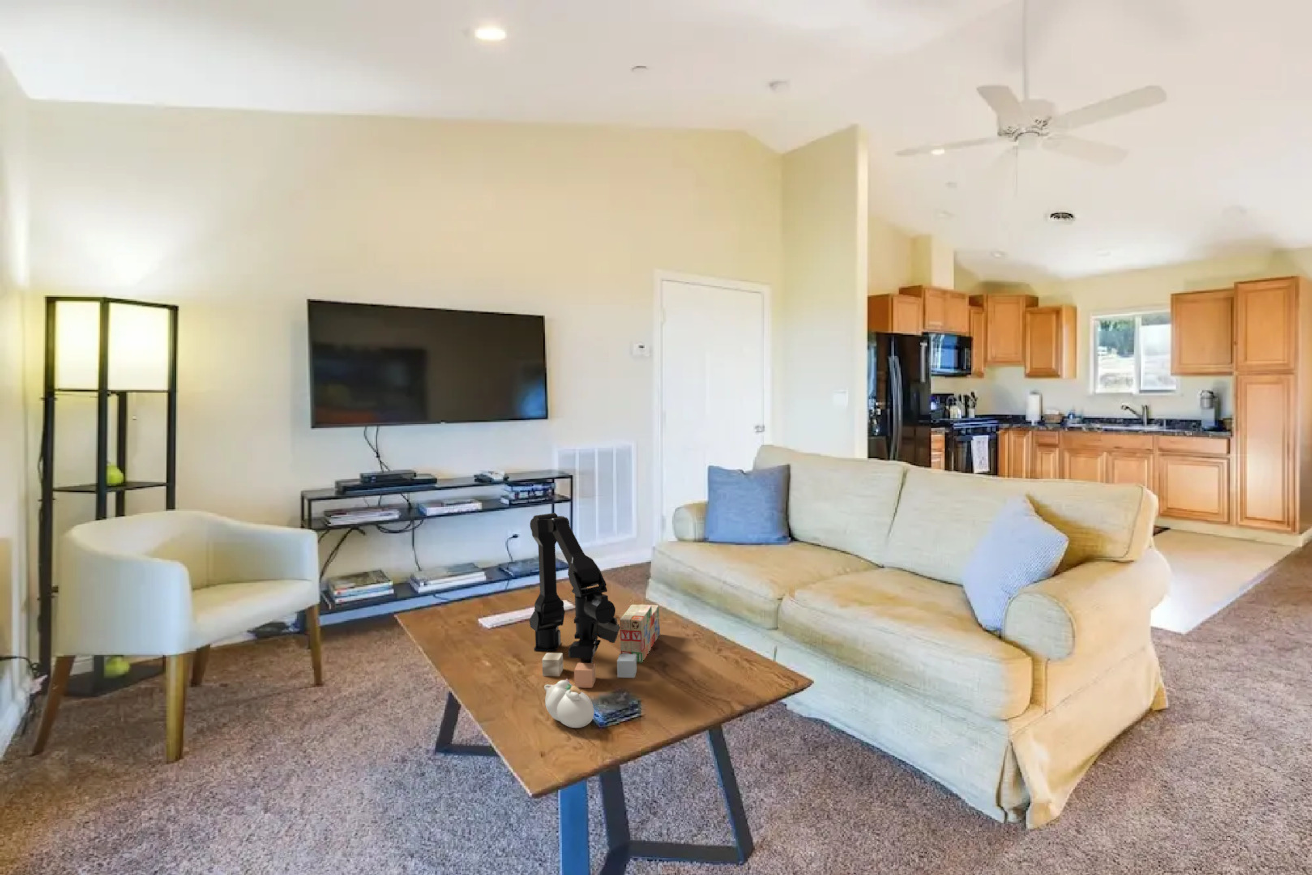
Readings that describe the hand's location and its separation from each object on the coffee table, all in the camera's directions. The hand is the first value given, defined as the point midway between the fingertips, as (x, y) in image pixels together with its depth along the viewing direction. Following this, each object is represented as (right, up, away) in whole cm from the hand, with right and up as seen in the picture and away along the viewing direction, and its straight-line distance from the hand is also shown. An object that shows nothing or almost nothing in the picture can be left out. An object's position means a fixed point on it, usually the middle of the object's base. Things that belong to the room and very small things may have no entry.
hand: (588, 670), depth 174 cm
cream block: (-10, -2, +4) cm, 11 cm away
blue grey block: (+10, -1, +2) cm, 10 cm away
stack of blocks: (+13, 0, +19) cm, 24 cm away
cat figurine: (-2, -4, -22) cm, 23 cm away
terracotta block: (0, -2, -4) cm, 4 cm away
